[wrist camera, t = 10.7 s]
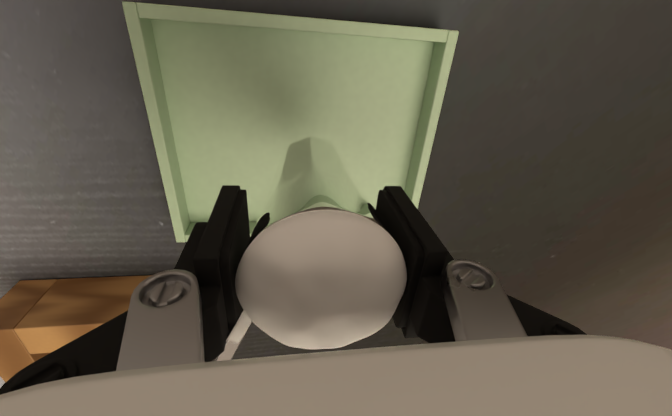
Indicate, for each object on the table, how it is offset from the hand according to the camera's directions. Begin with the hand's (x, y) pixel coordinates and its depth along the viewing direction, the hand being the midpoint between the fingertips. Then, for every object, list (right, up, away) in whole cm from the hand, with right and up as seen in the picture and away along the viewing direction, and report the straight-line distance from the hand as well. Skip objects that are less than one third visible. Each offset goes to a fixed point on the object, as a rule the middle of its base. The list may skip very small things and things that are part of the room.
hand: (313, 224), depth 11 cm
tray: (-1, +5, +9) cm, 10 cm away
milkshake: (-1, +2, +4) cm, 5 cm away
